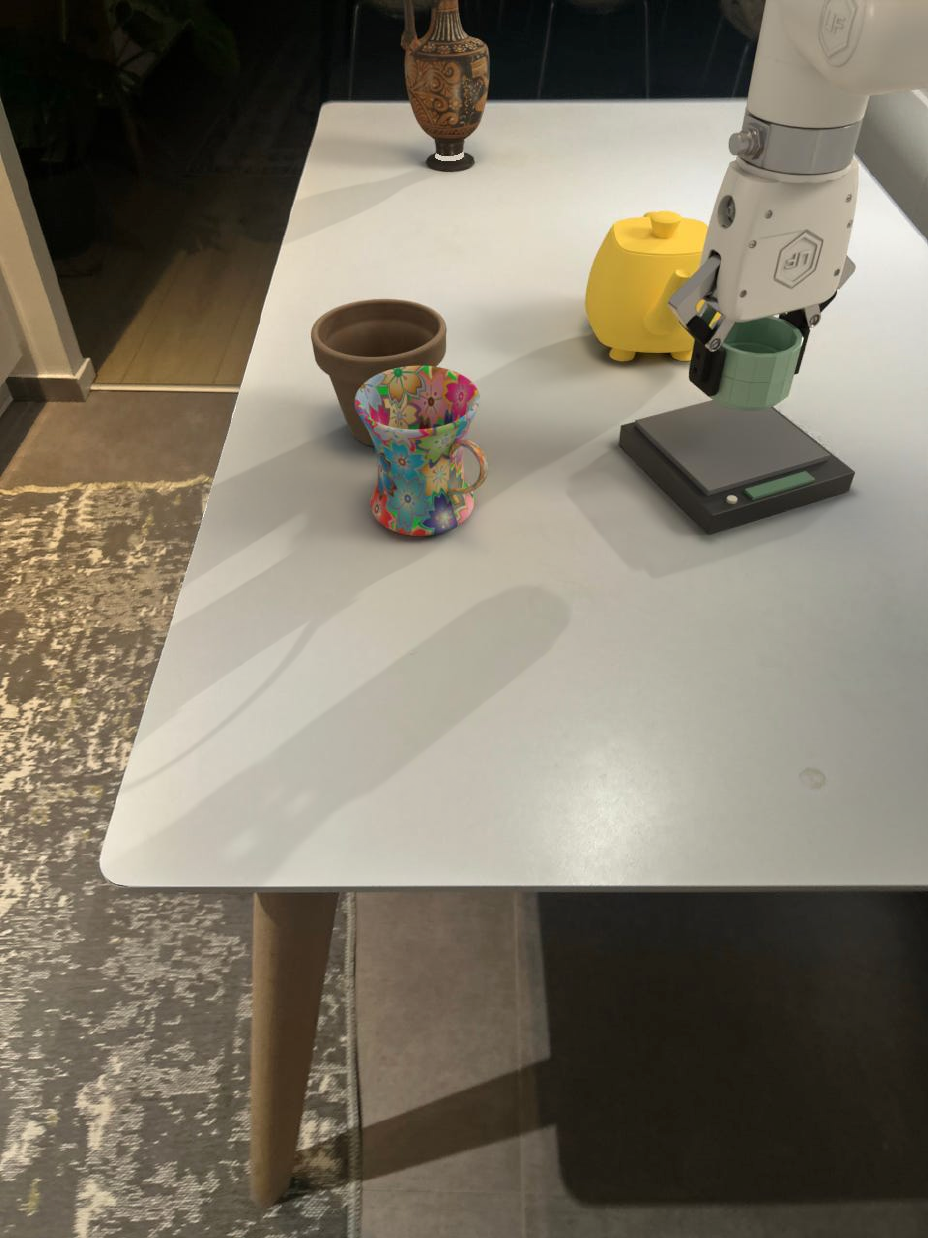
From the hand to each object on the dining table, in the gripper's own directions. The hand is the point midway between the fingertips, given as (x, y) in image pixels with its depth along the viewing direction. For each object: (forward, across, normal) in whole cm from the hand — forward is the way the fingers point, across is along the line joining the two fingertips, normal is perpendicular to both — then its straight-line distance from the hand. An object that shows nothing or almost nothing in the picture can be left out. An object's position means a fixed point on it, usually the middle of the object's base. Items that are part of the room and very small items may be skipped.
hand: (743, 375), depth 74 cm
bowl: (+1, 0, 0) cm, 1 cm away
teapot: (+9, +5, +20) cm, 22 cm away
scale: (+8, 0, -1) cm, 8 cm away
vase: (+9, +7, +79) cm, 80 cm away
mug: (+8, -26, +3) cm, 28 cm away
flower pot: (+9, -25, +17) cm, 31 cm away
